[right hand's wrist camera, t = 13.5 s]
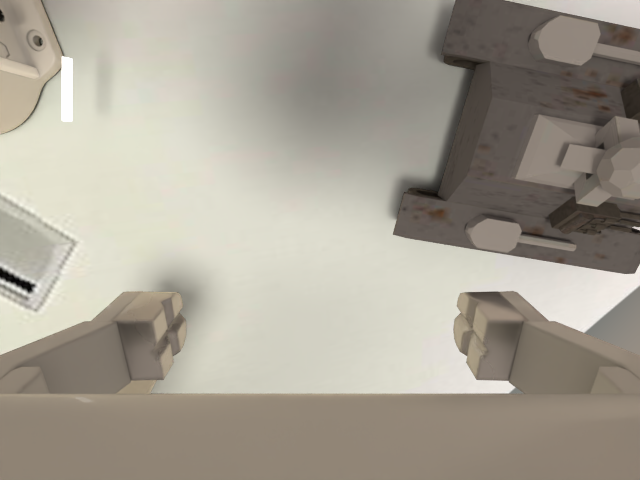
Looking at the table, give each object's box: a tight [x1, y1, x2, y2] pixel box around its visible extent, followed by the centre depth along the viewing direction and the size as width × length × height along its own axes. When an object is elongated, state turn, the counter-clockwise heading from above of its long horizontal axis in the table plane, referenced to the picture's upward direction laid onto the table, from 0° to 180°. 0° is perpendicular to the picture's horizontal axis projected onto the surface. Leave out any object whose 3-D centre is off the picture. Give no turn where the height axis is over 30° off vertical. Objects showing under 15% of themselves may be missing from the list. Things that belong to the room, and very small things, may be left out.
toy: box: [393, 0, 640, 274], centre depth 28 cm, size 25×20×15 cm
